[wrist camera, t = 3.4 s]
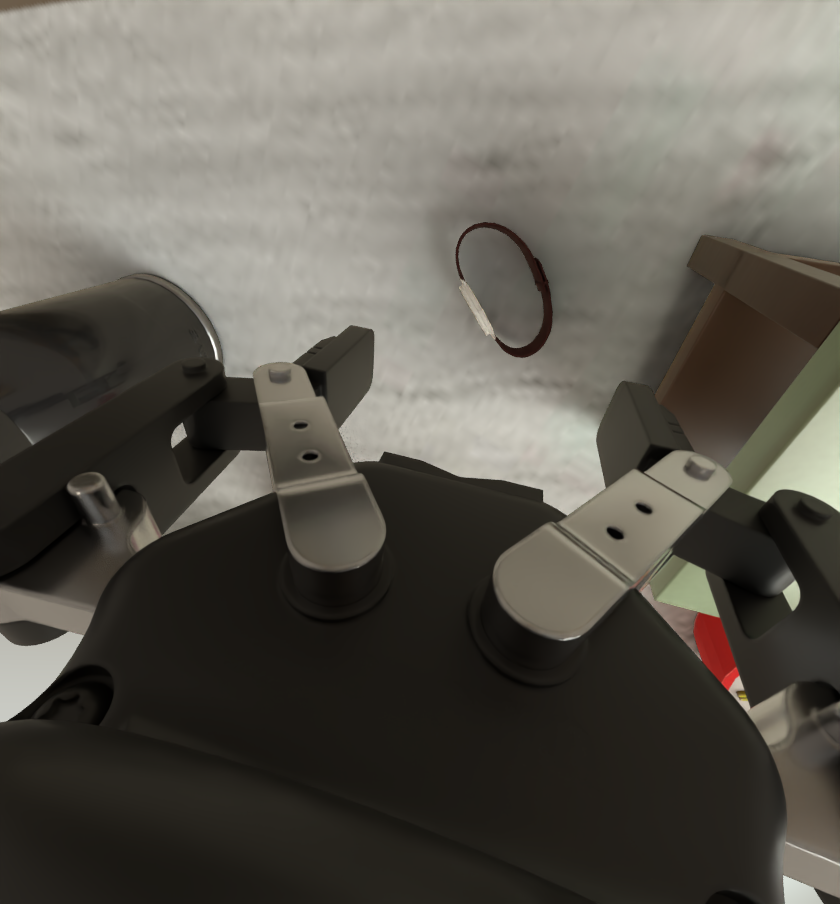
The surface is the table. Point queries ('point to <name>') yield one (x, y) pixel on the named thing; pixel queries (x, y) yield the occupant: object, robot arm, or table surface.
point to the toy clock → (718, 655)
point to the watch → (539, 281)
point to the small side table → (758, 386)
